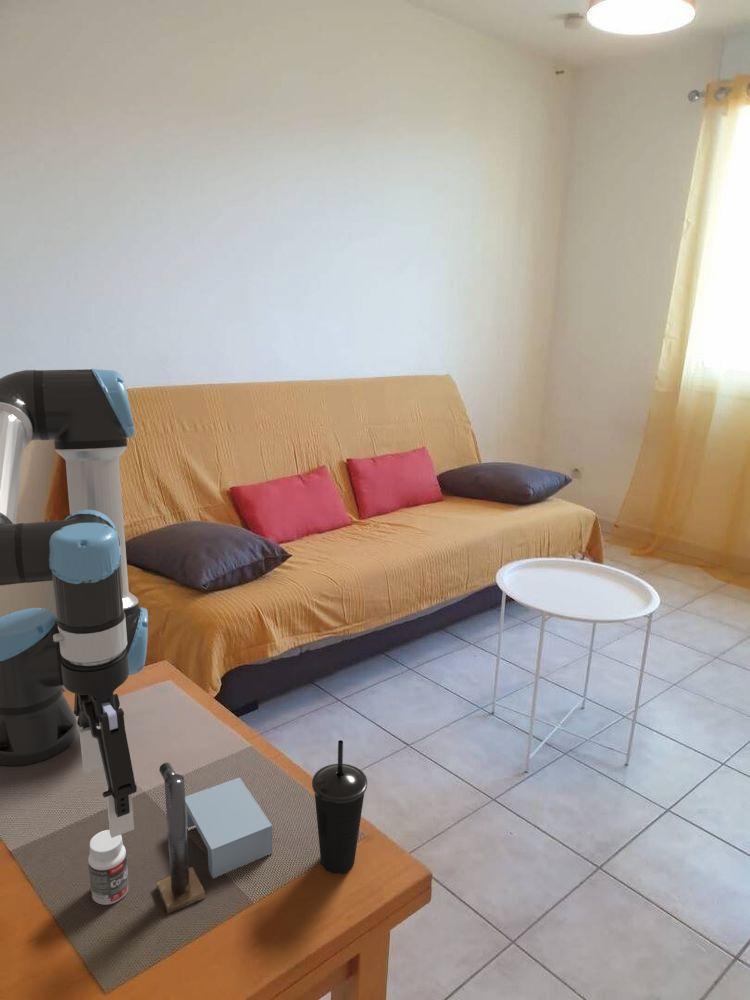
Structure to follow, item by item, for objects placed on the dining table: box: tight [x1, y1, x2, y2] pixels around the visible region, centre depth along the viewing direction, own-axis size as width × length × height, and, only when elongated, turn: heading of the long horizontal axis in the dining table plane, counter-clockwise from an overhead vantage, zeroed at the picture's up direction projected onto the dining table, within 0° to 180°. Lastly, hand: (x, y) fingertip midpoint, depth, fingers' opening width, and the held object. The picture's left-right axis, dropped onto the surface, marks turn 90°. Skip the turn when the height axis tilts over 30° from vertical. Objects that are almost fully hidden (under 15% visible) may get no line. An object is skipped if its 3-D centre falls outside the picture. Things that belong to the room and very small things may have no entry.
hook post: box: [155, 762, 206, 915], centre depth 95 cm, size 6×5×18 cm
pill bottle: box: [87, 829, 130, 906], centre depth 95 cm, size 5×5×8 cm
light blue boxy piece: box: [185, 777, 273, 879], centre depth 106 cm, size 12×9×5 cm
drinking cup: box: [311, 740, 368, 875], centre depth 100 cm, size 8×8×20 cm
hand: (107, 798), depth 92 cm, fingers open, 13 cm apart
